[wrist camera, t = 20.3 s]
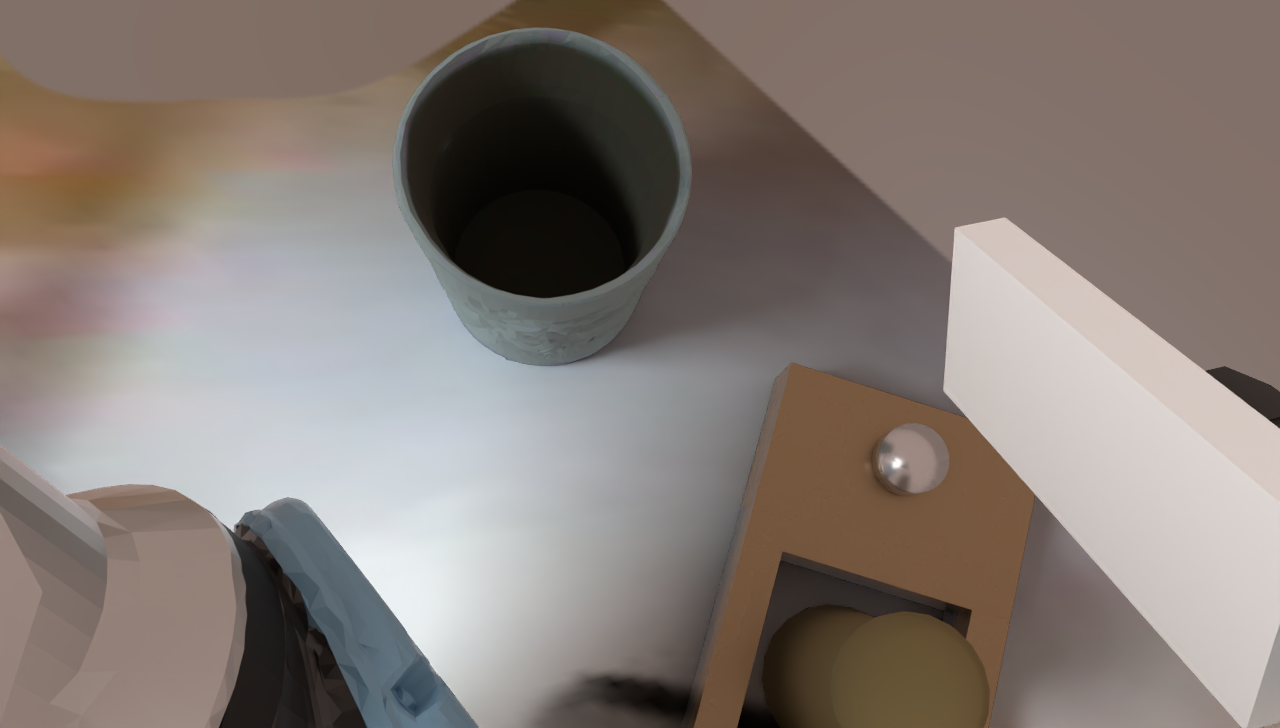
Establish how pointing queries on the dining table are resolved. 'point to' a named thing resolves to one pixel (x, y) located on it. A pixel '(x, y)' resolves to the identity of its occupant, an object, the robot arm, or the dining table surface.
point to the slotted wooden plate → (865, 523)
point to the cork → (873, 672)
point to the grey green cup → (542, 188)
